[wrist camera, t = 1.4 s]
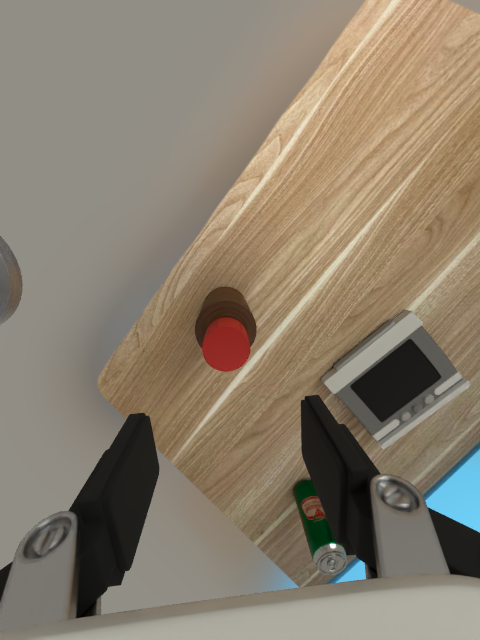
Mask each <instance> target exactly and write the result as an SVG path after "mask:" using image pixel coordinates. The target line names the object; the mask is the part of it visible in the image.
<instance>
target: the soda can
mask: <svg viewBox="0 0 480 640" xmlns="http://www.w3.org/2000/svg"><path fill="white" fill-rule="evenodd" d="M293 493H294V497H295V501H296V504H297V508H298V511H299V515H300V518H301V521H302V525H303V528H304V532H305V535H306V539H307V542H308V545H309V549H310V552H311V556H312V559H313V562H314V563H315V564H316V565H317V567H318V569H319V571H320V572H321V573H323V574H326V575H333V574H337V573H339V572H341V571H342V570H343V569H344V568H345V567H346V565H347V558H346V553H345V550H344V548H343V545H342V543H339V544H338V543H337V542H336V541H335V538H334V536H333V533H332V531H331V528H330V526H329V523H328V521H327V518H326V515H325V513H324V510H323V508H322V505H321V503H320V500H319V498H318V495H317V492H316V490H315V487H314V485H313V482H312V480H303V481H300V482H299V483H298V484H297V485H296V486H295V488H294V492H293Z"/></svg>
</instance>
